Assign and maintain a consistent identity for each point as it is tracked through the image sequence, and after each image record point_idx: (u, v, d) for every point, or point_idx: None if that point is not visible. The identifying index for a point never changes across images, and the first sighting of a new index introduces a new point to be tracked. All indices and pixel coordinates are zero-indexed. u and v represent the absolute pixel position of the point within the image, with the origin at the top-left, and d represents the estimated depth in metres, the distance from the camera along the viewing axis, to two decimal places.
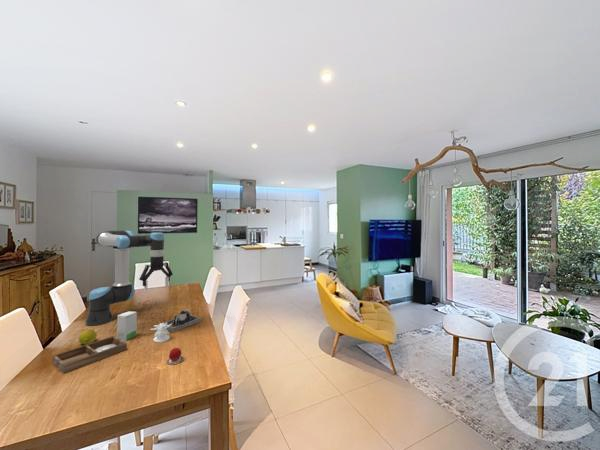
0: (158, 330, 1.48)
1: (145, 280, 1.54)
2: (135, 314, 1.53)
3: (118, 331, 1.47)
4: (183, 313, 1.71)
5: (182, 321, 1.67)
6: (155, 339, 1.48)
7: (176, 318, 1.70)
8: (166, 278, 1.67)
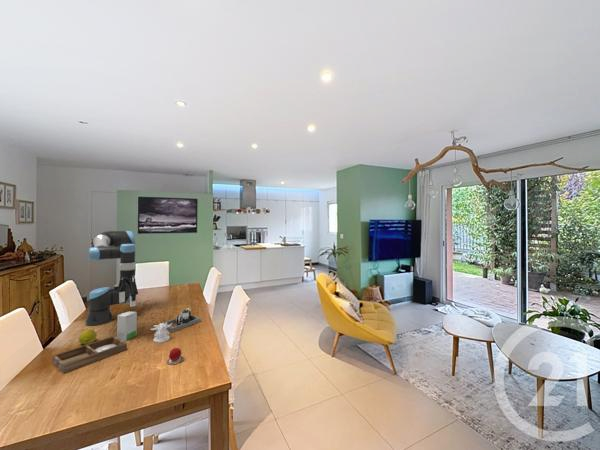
0: (158, 330, 1.48)
1: (119, 291, 1.53)
2: (135, 314, 1.53)
3: (118, 331, 1.47)
4: (186, 312, 1.73)
5: (186, 320, 1.69)
6: (155, 339, 1.48)
7: (179, 317, 1.71)
8: None
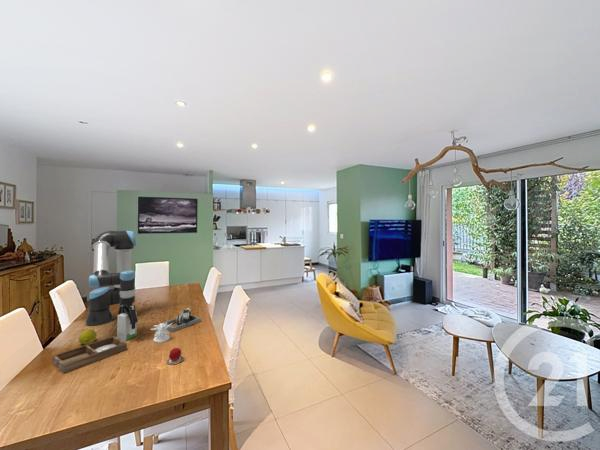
0: (158, 330, 1.48)
1: None
2: None
3: (118, 331, 1.47)
4: (186, 312, 1.73)
5: (187, 319, 1.69)
6: (155, 339, 1.48)
7: (179, 317, 1.72)
8: None
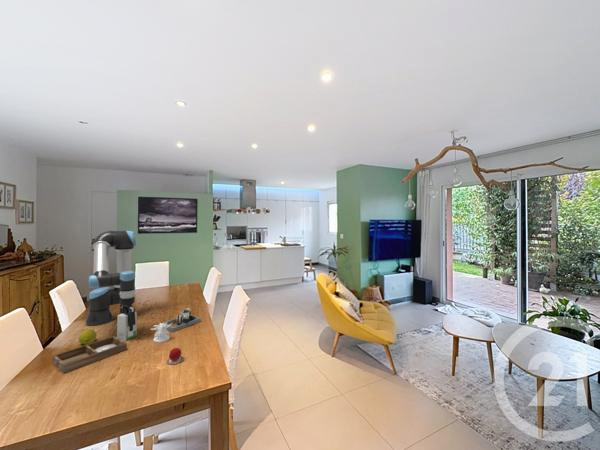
0: (158, 330, 1.48)
1: None
2: (135, 314, 1.53)
3: (117, 331, 1.47)
4: (186, 312, 1.73)
5: (187, 319, 1.69)
6: (155, 339, 1.48)
7: (179, 317, 1.72)
8: None
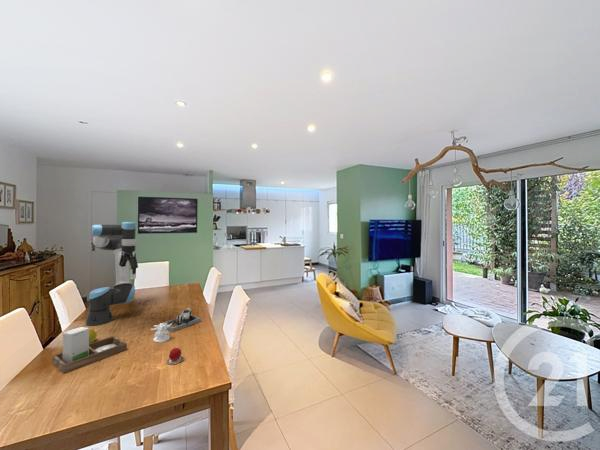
0: (158, 330, 1.48)
1: (120, 266, 1.65)
2: (87, 331, 1.26)
3: (63, 352, 1.21)
4: (186, 312, 1.73)
5: (187, 319, 1.70)
6: (155, 339, 1.48)
7: (179, 317, 1.72)
8: None
